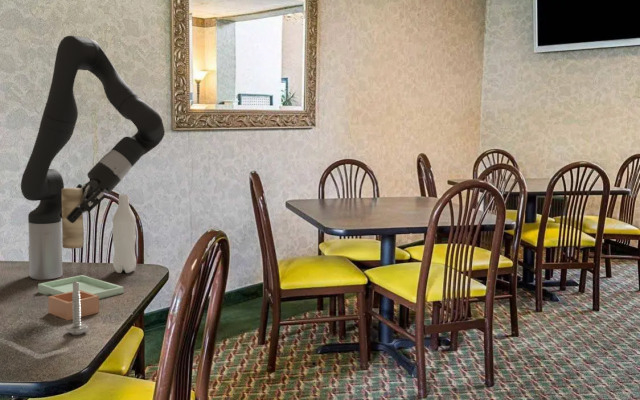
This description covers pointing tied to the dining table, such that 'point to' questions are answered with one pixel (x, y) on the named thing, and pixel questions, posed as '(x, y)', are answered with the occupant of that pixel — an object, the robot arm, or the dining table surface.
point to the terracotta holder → (63, 304)
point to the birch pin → (70, 231)
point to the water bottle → (124, 236)
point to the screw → (76, 313)
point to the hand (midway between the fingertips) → (65, 219)
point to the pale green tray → (80, 286)
